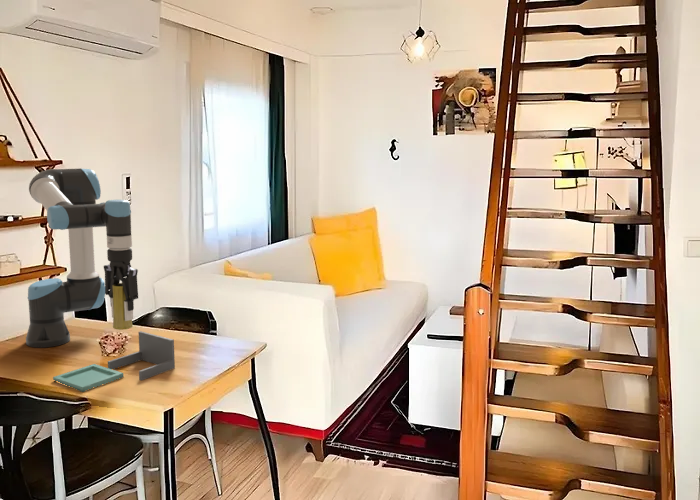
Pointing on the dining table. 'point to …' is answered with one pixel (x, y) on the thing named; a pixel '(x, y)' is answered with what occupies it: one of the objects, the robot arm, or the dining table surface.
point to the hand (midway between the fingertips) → (122, 318)
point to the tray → (88, 377)
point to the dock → (149, 355)
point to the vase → (119, 308)
